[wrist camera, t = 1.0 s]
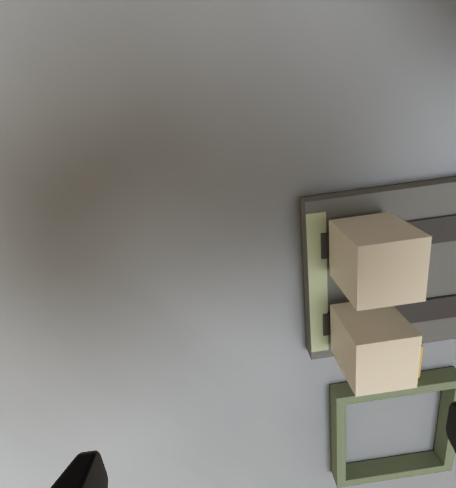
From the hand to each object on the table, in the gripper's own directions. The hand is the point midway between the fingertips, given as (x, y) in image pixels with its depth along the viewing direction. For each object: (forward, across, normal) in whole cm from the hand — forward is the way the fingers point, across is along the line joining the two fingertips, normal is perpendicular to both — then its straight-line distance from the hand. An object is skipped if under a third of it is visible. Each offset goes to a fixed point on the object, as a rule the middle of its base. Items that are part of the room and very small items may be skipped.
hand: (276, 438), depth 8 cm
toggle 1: (+10, -6, 0) cm, 12 cm away
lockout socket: (+12, -9, +13) cm, 20 cm away
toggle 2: (+10, -6, +5) cm, 13 cm away
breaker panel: (+12, -9, +3) cm, 15 cm away
